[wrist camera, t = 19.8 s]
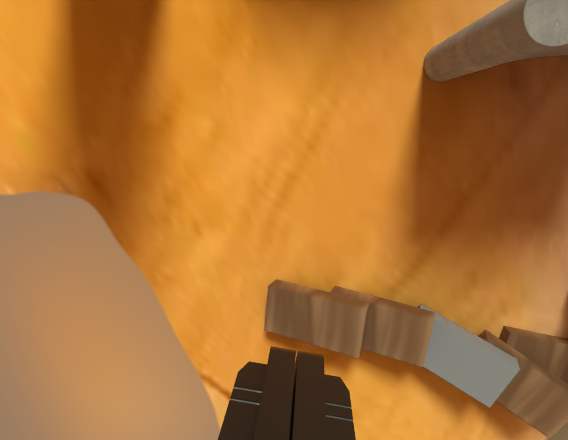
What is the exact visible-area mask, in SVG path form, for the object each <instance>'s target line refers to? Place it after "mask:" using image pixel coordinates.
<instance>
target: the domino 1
mask: <svg viewBox="0 0 568 440" xmlns="http://www.w3.org/2000/svg"><path fill="white" fill-rule="evenodd" d="M369 307H370V303H369V302H365V301H361V300H357V299H353V298H349V297H345V296H341V295H337V294H333V293H329V292H325V291H321V290H317V289H313V288H308V287H304V286H300V285H296V284H292V283H288V282H284V281H280V280H275V281H274V282H272V283H271V284H270V285H269V286H268V295H267V306H266V317H265V329H264V330H265V331H269V332H272V333H275V334H279V335H282V336H285V337H289V338H292V339H295V340H299V341H302V342H305V343H309V344H312V345H315V346H319V347H322V348H325V349H329V350H332V351H335V352H339V353H342V354H345V355H349V356H352V357H355V358H359V357H360V355H361V352H362V350H363V345H364V339H365V332H366V326H367V320H368V313H369Z"/></svg>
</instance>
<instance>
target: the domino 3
mask: <svg viewBox="0 0 568 440" xmlns="http://www.w3.org/2000/svg"><path fill="white" fill-rule="evenodd" d="M418 308H421V309H425V310H429V311H432V312H434V325H433V329H432V333H431V337H430V341H429V345H428V349H427V353H426V357H425V361H424V366H423V367H425V368H427V369H428V370H430V371H431V372H433V373H435V374H436V375H438V376H439V377H441V378H443V379H444V380H446V381H447V382H449V383H451V384H452V385H454V386H455V387H457V388H459V389H460V390H462V391H463V392H465V393H467V394H468V395H470V396H471V397H473V398H475V399H476V400H478V401H479V402H481V403H483V404H484V405H486V406H488V407H489V408H490V407H491V406H492V405H493V403H494V402H495V401H496V399H497V398H498V397H499V396H500V394H501V393H502V392H503V391H504V389H505V388H506V387H507V385H508V384H509V383H510V382H511V380H512V379H513V378H514V377H515V375H516V374H517V373H518V371H519V370H520V368H519V364H518V361H517V359H516V358H514V357H513V356H511V355H509V354H507V353H506V352H504V351H502V350H500V349H499V348H497V347H495V346H494V345H492V344H490V343H488V342H486V341H485V340H483V339H481V338H480V337H478V336H476V335H474V334H473V333H471V332H469V331H468V330H466V329H464V328H462V327H461V326H459V325H457V324H455V323H454V322H452V321H450V320H448V319H447V318H445V317H443V316H442V315H440V314H438V313H436V312H435V311H433V310H431V309H429V308H428V307H426V306H424V305H422V304H420V306H419V307H418Z"/></svg>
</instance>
